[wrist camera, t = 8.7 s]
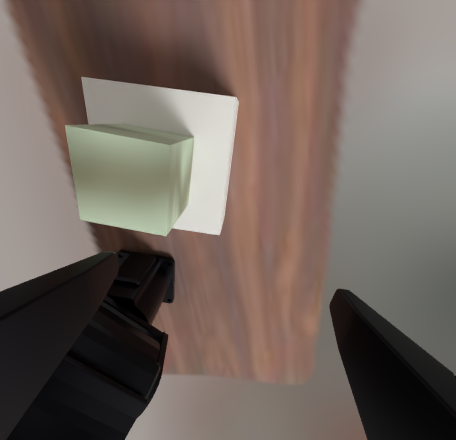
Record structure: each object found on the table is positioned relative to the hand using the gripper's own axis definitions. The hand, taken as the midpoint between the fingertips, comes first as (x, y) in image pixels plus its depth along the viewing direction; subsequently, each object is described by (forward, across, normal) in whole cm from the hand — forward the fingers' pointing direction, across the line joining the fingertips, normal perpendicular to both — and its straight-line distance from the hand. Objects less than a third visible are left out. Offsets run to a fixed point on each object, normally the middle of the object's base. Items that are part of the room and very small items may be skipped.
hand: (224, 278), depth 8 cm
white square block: (+12, +6, -2) cm, 14 cm away
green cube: (+8, +6, -2) cm, 11 cm away
